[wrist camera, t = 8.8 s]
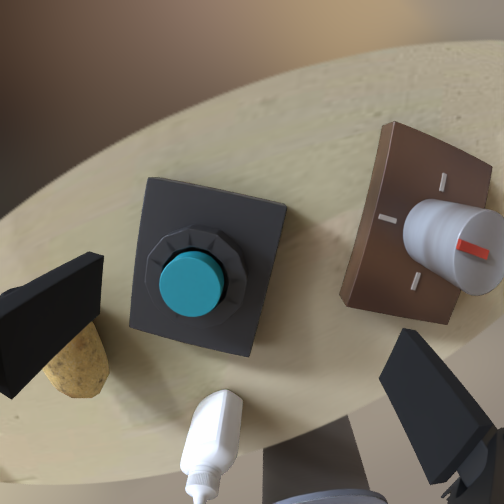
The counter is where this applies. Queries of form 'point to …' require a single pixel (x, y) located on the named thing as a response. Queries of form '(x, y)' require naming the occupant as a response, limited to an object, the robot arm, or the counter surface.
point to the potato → (80, 365)
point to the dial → (457, 243)
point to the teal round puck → (192, 284)
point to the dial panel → (393, 219)
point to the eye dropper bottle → (211, 444)
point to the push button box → (215, 245)
